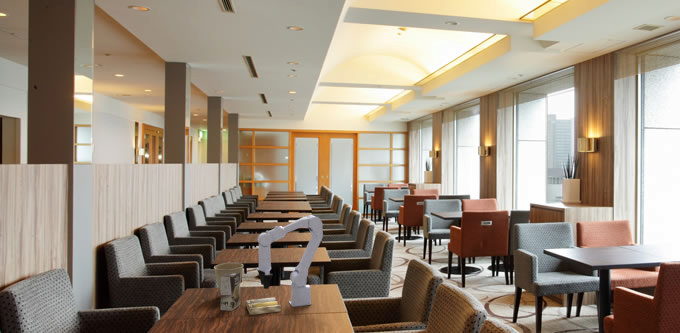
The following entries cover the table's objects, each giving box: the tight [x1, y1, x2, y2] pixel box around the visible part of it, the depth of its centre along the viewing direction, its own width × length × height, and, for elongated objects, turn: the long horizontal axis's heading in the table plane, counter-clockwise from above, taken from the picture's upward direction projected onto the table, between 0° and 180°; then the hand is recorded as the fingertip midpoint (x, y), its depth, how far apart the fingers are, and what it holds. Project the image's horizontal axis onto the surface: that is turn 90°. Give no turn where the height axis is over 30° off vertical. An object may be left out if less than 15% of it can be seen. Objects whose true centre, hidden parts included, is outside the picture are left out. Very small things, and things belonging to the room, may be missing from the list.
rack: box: [245, 299, 282, 315], centre depth 216 cm, size 14×14×3 cm
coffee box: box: [220, 272, 241, 312], centre depth 217 cm, size 9×6×16 cm
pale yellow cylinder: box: [255, 300, 279, 308], centre depth 213 cm, size 10×4×4 cm, turn 110°
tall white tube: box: [253, 297, 277, 304], centre depth 219 cm, size 10×4×4 cm, turn 109°
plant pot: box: [213, 262, 244, 294], centre depth 236 cm, size 15×15×16 cm
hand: (264, 286), depth 217 cm, fingers open, 7 cm apart
